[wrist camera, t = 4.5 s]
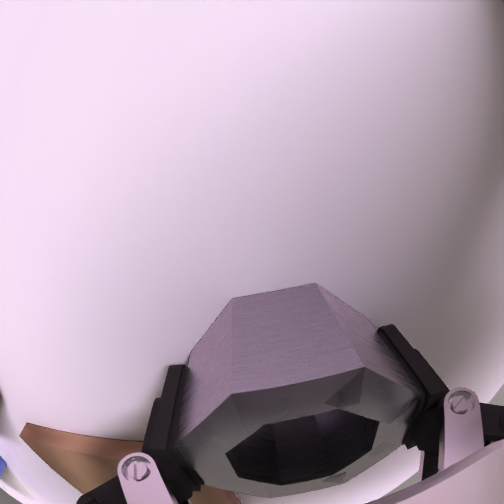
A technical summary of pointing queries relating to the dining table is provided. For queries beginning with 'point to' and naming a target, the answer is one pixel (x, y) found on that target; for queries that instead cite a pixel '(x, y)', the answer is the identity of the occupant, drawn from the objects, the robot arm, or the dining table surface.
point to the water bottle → (2, 466)
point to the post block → (97, 460)
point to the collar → (291, 395)
